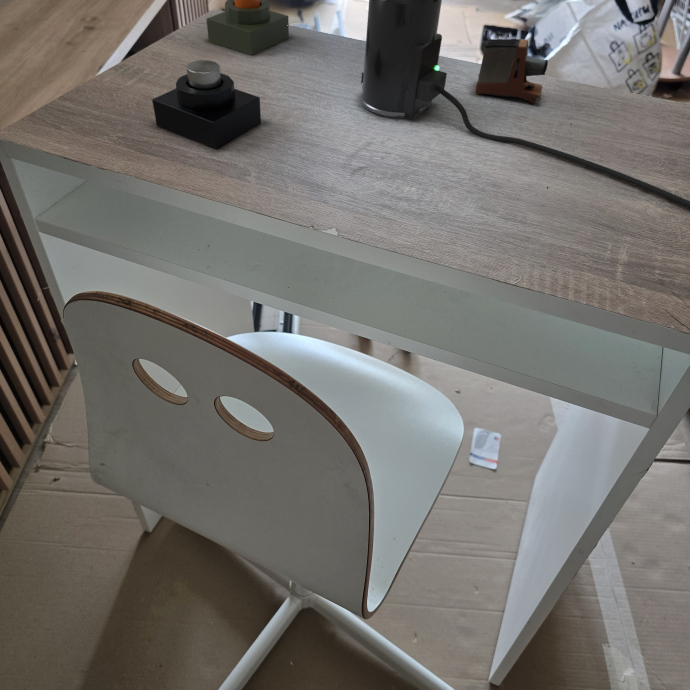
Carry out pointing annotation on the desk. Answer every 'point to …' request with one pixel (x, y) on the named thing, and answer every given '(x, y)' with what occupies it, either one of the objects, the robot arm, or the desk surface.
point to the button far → (247, 3)
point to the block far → (247, 27)
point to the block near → (207, 112)
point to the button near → (204, 75)
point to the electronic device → (509, 70)
